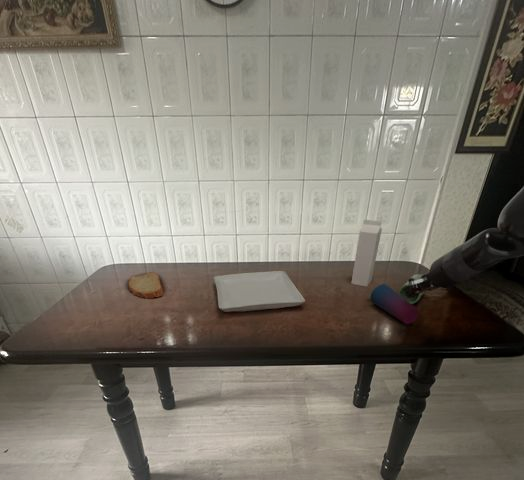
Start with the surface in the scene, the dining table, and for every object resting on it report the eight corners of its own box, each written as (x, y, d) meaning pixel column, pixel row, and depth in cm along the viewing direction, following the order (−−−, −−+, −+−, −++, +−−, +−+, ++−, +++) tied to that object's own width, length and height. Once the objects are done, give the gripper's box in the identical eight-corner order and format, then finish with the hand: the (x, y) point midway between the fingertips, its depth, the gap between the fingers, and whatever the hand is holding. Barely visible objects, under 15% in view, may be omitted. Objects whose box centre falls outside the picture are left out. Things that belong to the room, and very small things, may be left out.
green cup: (431, 276, 100) (423, 287, 93) (425, 294, 104) (417, 306, 97) (411, 272, 103) (401, 282, 96) (406, 290, 107) (396, 301, 100)
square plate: (220, 319, 91) (219, 307, 89) (214, 284, 113) (213, 274, 111) (305, 310, 95) (306, 299, 93) (283, 278, 117) (284, 269, 115)
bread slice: (157, 300, 103) (155, 289, 100) (112, 294, 107) (109, 284, 104) (182, 280, 117) (180, 271, 115) (142, 276, 121) (139, 267, 119)
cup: (396, 323, 85) (366, 300, 96) (410, 329, 88) (380, 306, 100) (411, 302, 82) (379, 281, 93) (426, 309, 85) (393, 288, 97)
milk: (355, 278, 117) (366, 218, 104) (371, 281, 114) (384, 219, 101) (350, 284, 112) (361, 221, 100) (367, 287, 110) (379, 223, 97)
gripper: (477, 247, 70) (425, 279, 87) (428, 253, 67) (384, 284, 84) (487, 277, 69) (432, 303, 85) (438, 284, 66) (391, 309, 83)
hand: (408, 294), depth 85 cm, fingers closed
